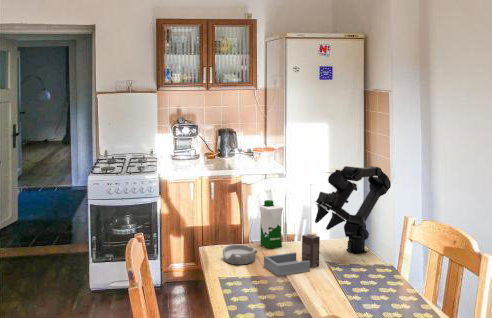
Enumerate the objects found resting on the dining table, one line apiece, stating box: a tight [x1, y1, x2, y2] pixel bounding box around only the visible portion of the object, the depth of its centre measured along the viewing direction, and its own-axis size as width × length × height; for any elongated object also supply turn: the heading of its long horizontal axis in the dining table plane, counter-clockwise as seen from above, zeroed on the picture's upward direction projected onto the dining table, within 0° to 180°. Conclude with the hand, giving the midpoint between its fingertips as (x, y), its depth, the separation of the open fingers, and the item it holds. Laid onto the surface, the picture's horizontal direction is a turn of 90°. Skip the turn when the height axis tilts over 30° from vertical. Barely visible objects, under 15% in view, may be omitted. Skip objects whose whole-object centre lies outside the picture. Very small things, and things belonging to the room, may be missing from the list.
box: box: [301, 233, 321, 269], centre depth 224 cm, size 6×4×12 cm
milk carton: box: [259, 199, 284, 250], centre depth 249 cm, size 9×9×20 cm
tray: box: [263, 252, 311, 277], centre depth 220 cm, size 14×12×4 cm
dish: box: [222, 243, 258, 266], centre depth 232 cm, size 14×14×5 cm
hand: (321, 226), depth 231 cm, fingers open, 9 cm apart
